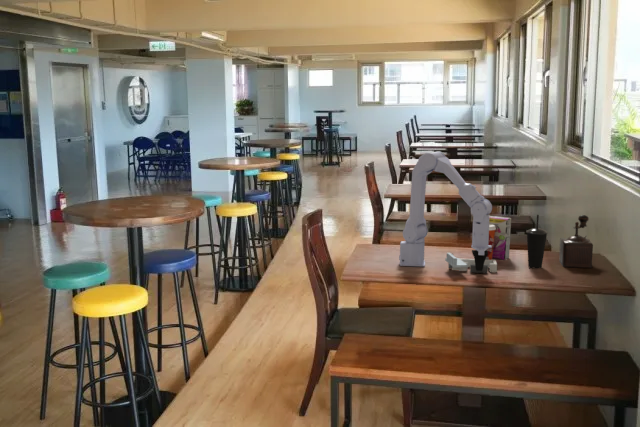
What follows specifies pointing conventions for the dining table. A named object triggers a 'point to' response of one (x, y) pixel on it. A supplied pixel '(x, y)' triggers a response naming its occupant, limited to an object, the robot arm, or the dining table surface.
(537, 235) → the drinking cup
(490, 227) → the paper cup
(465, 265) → the cover
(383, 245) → the dining table surface
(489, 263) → the pale grey rectangular block
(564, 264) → the manual coffee grinder
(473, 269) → the gray tin can
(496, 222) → the candy bar box
